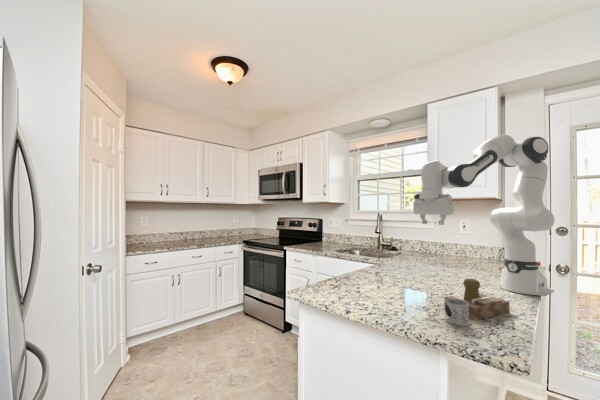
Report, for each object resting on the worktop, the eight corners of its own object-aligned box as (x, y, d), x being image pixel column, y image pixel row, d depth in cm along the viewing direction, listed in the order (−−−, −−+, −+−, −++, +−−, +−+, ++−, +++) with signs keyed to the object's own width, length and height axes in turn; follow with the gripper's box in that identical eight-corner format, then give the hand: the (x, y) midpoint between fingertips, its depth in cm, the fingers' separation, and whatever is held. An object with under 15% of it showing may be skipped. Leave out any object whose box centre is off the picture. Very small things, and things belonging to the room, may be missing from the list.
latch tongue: (488, 308, 99) (488, 296, 99) (491, 309, 98) (491, 297, 99) (471, 312, 96) (471, 299, 96) (474, 313, 95) (474, 300, 95)
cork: (484, 312, 97) (484, 281, 97) (466, 311, 98) (466, 280, 98) (477, 306, 103) (476, 277, 103) (459, 305, 104) (459, 276, 104)
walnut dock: (476, 302, 108) (476, 289, 108) (509, 313, 97) (509, 299, 97) (444, 307, 101) (444, 294, 101) (476, 320, 90) (476, 305, 90)
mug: (444, 317, 92) (444, 297, 92) (466, 320, 90) (466, 300, 90) (447, 328, 83) (447, 306, 83) (472, 332, 80) (472, 310, 81)
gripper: (456, 193, 119) (457, 225, 118) (420, 196, 138) (421, 223, 137) (446, 193, 117) (447, 225, 116) (410, 196, 136) (411, 223, 135)
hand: (432, 224), depth 127 cm, fingers open, 8 cm apart
